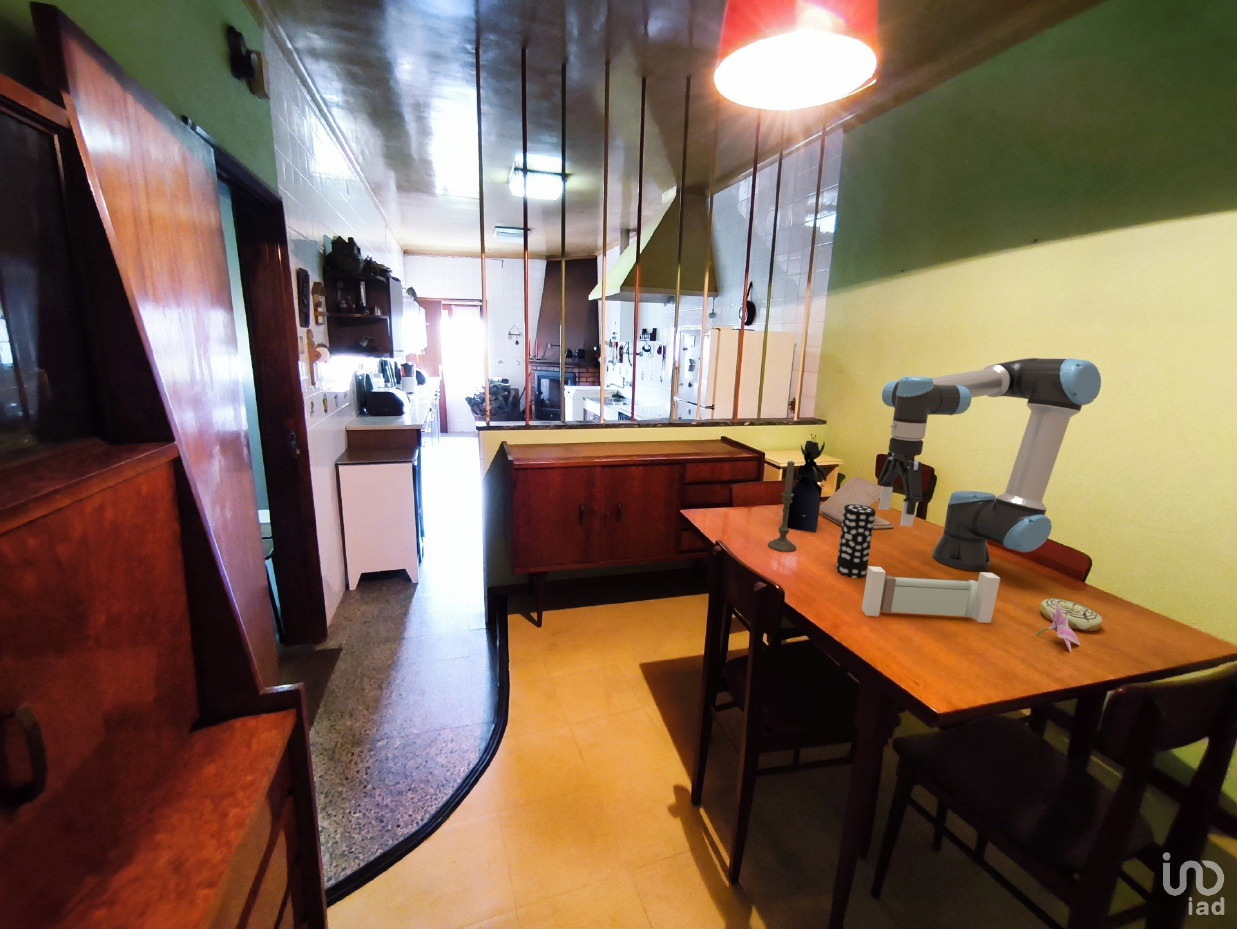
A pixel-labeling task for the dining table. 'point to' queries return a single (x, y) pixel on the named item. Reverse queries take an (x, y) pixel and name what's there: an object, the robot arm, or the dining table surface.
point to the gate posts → (982, 604)
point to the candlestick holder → (785, 515)
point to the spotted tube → (855, 540)
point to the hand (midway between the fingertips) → (894, 517)
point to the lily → (1061, 626)
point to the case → (853, 501)
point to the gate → (928, 596)
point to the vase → (807, 491)
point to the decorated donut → (1073, 614)
